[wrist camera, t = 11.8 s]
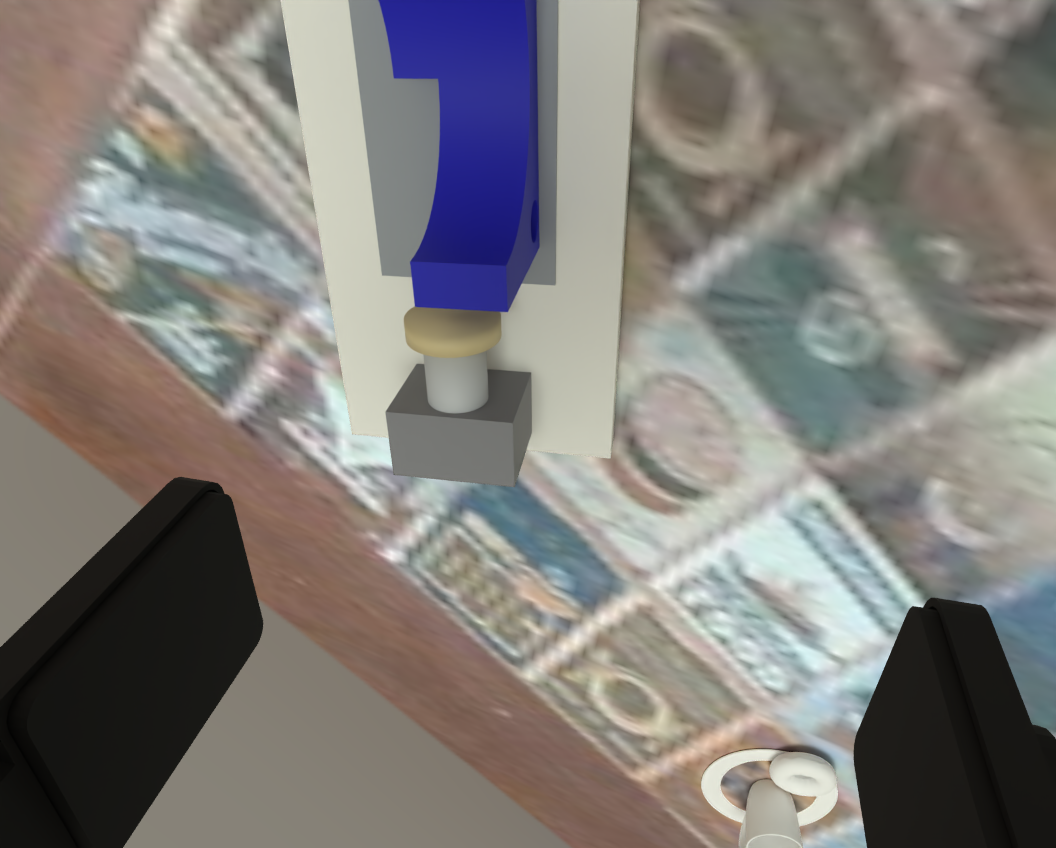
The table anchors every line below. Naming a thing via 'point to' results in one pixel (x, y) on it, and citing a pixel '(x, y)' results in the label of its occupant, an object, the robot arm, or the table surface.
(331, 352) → the table surface
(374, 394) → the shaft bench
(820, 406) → the table surface
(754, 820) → the teacup and saucer
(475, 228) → the blue cradle bracket
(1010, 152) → the table surface
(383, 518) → the table surface
